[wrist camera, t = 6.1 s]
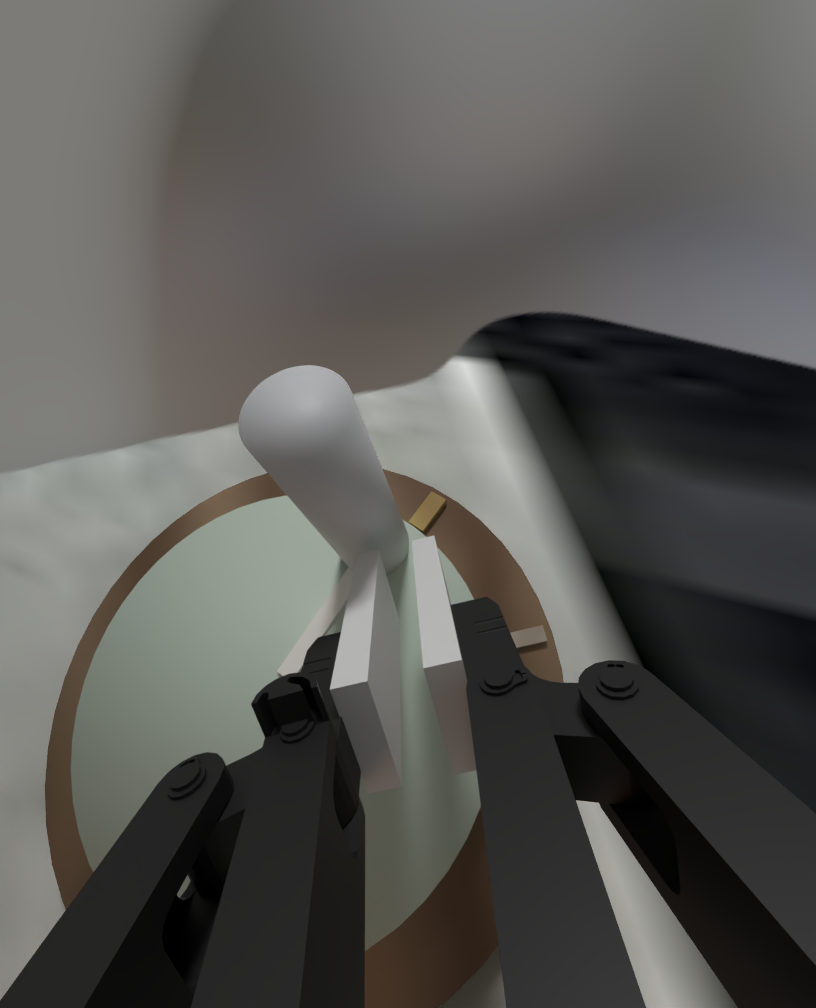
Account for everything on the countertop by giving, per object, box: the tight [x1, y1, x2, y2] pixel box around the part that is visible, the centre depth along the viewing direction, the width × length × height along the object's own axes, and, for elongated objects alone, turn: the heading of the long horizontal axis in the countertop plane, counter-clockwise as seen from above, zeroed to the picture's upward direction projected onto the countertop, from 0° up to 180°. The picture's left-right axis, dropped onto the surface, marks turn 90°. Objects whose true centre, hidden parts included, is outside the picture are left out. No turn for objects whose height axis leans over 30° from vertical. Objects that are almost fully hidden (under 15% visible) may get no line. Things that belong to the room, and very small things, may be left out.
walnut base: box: [45, 469, 564, 1008], centre depth 19 cm, size 21×21×2 cm
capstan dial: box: [71, 365, 481, 951], centre depth 14 cm, size 16×16×11 cm
